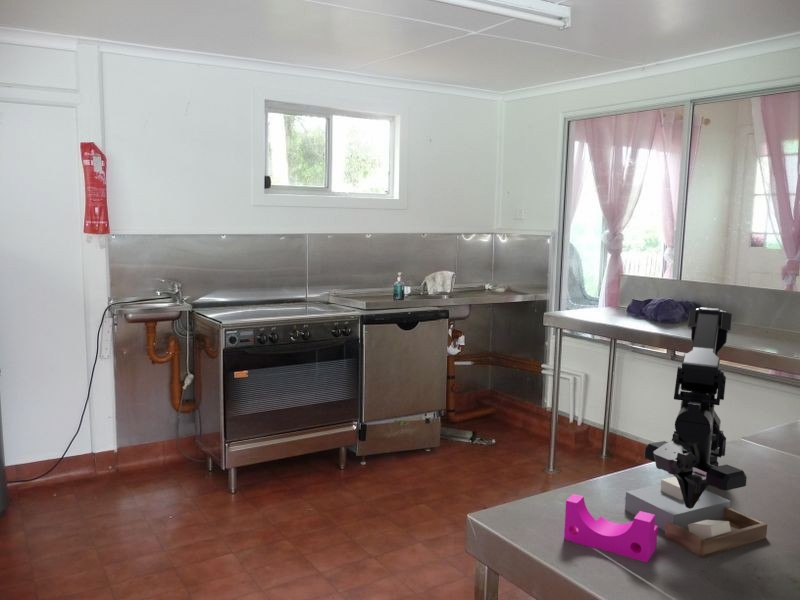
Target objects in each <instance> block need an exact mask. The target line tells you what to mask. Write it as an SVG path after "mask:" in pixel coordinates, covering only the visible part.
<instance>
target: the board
mask: <svg viewBox="0 0 800 600" xmlns="http://www.w3.org/2000/svg"><path fill="white" fill-rule="evenodd" d="M731 503H732V501H731V500H730V499H729V498H728V499H727V498H725V497H723V496H720V495H718V494H715V493H713V492H712V491H708V489H707V490H706V489H705V490H704V491H703V493H702V494H701V496H700V498H699V499H698V501H697V502H696V504H695V505H694V507H693V508H691V509H689V508H687V507H686V506H685V503H684V499H682V500H680V499H677V498H675V497H673V496H671V495H669V494H667V493H664V492H662V491H661V483H660V484H656V485H651V486H645V487H642V488H638V489H637V488H636V489H632V490H628V491H626V492H625V503H624V510H625V511H627V513H630V514H632V515H634V516H636V515H637V514H638V513H639V511H642V512H646V513H650V514H654V515H655V525H656V526H658V529H660V530H662V531H664V532H665V525H666V522H668V521H669V522H671V523H673V524H675V525H677V526H679V527H681V528H683V529H687V528H688V524H692V523H696V522H700V521H704V520H721V519H723V517H724V507H729V508H731Z"/></svg>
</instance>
